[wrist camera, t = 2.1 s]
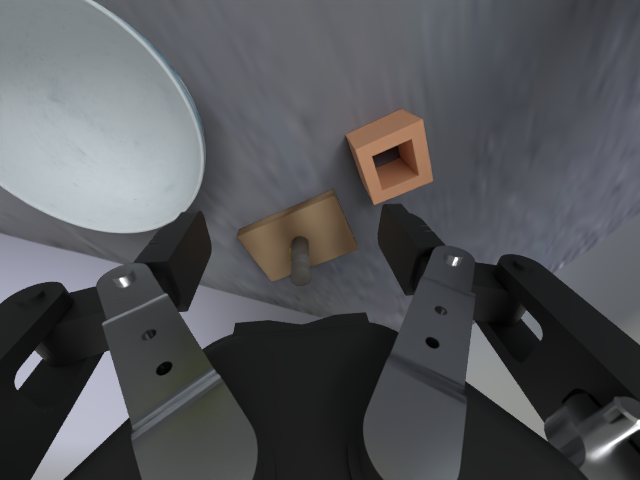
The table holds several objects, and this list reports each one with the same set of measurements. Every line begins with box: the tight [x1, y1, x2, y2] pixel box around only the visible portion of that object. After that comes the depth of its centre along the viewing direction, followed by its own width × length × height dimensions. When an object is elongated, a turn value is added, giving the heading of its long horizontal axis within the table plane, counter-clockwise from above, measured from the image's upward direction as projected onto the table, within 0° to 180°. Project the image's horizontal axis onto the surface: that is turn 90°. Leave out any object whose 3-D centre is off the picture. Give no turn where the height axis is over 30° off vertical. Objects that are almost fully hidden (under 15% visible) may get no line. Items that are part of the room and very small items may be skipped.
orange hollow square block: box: [346, 109, 433, 205], centre depth 24 cm, size 6×6×5 cm
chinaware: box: [0, 0, 206, 233], centre depth 19 cm, size 15×15×8 cm
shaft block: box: [237, 189, 358, 286], centre depth 28 cm, size 12×8×8 cm, turn 113°
